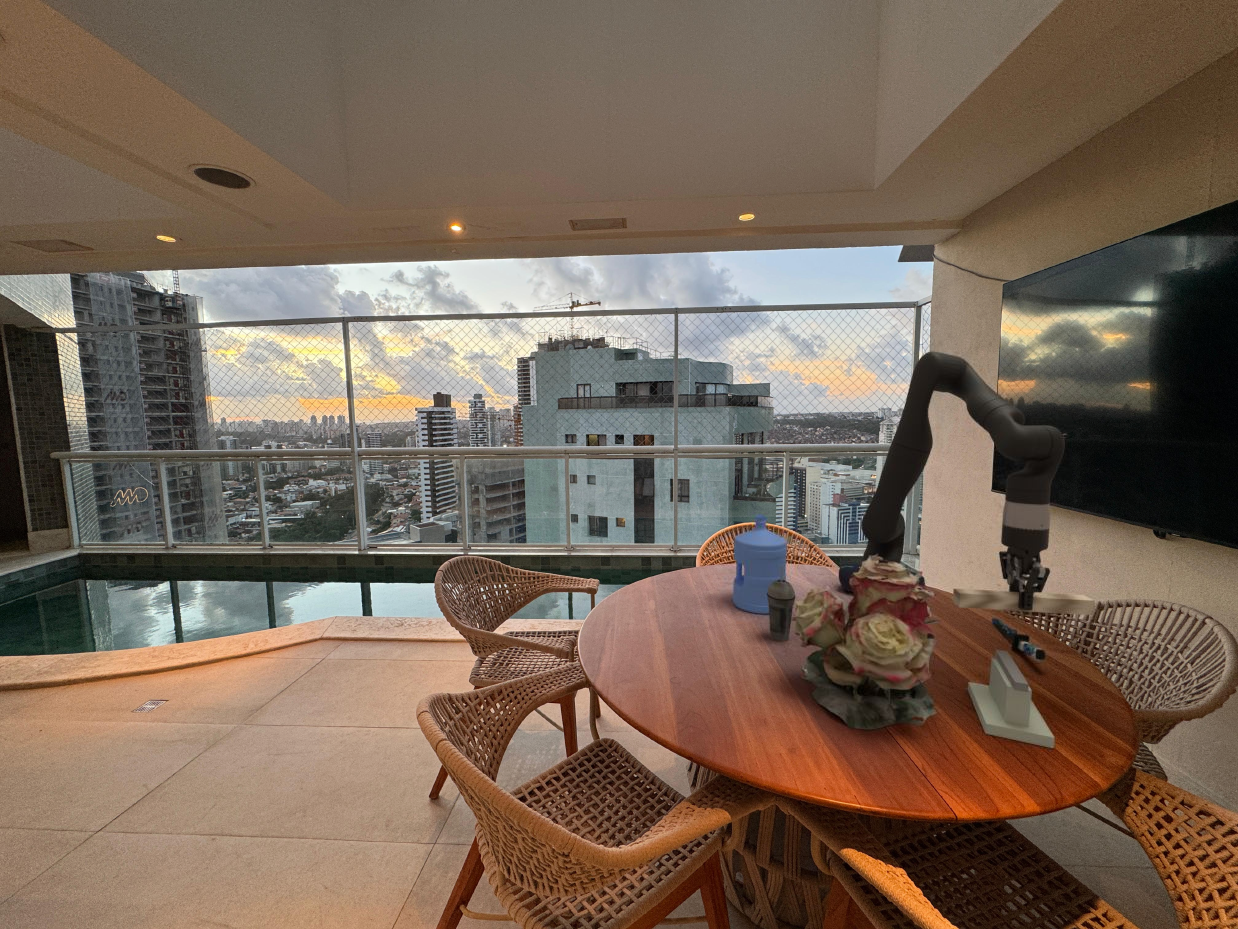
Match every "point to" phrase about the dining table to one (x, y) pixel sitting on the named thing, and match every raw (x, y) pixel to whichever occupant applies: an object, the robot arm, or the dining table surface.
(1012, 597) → the bar
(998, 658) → the stand
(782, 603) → the beverage cup
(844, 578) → the portable speaker
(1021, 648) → the knife
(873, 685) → the rose bouquet
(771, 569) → the water jug
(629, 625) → the dining table surface
